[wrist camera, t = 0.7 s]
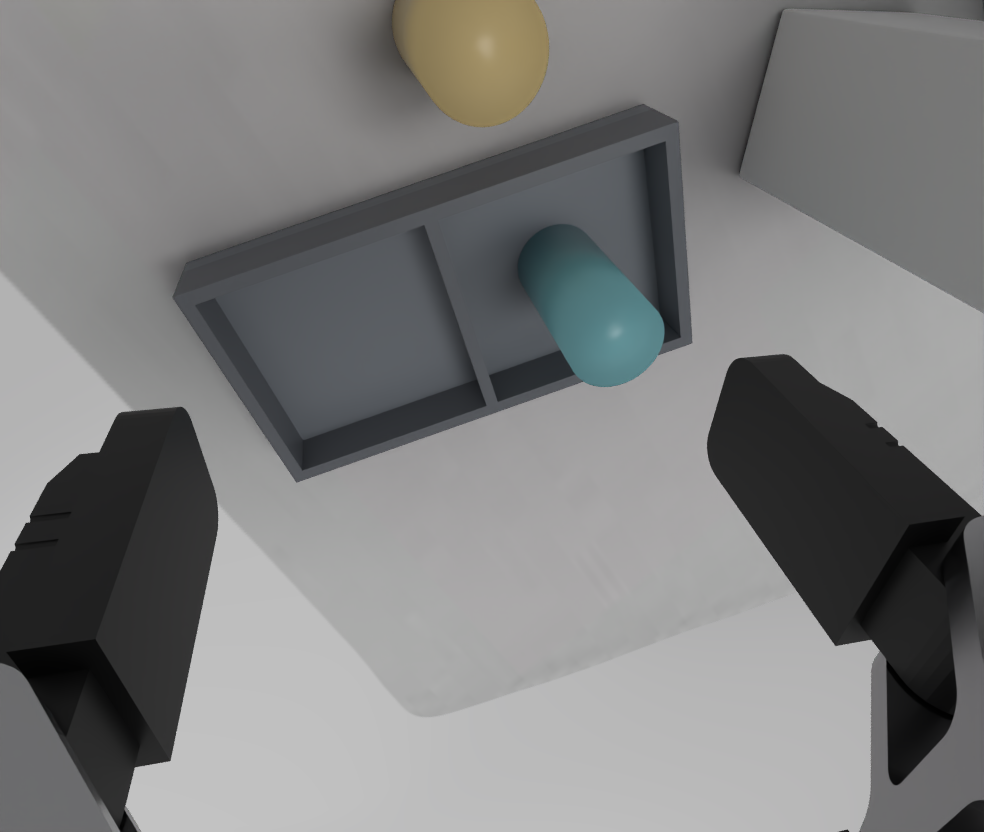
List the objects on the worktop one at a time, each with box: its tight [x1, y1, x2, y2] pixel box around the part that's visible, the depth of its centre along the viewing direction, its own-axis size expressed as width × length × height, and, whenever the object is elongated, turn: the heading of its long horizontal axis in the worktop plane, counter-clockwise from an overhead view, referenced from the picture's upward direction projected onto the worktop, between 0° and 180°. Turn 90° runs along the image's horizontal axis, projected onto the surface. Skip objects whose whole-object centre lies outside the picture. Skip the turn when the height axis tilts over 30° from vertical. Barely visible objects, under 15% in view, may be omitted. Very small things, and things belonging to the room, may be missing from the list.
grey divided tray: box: [173, 104, 692, 483], centre depth 30 cm, size 22×11×4 cm, turn 105°
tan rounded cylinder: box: [392, 0, 549, 127], centre depth 22 cm, size 4×4×8 cm
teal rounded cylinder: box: [518, 224, 664, 387], centre depth 28 cm, size 4×4×8 cm
